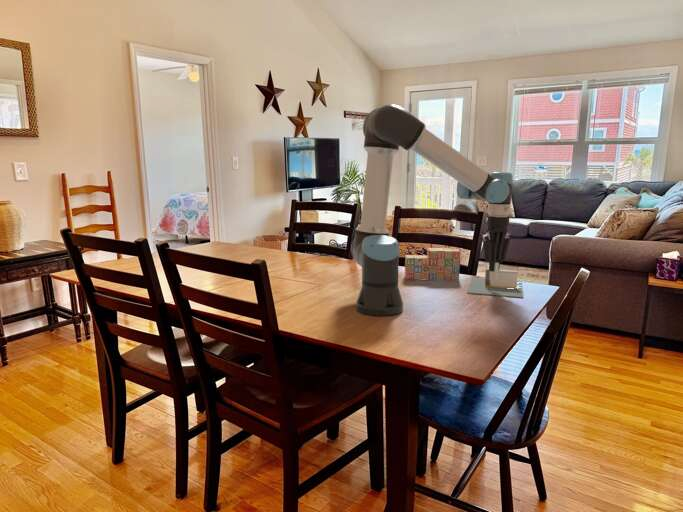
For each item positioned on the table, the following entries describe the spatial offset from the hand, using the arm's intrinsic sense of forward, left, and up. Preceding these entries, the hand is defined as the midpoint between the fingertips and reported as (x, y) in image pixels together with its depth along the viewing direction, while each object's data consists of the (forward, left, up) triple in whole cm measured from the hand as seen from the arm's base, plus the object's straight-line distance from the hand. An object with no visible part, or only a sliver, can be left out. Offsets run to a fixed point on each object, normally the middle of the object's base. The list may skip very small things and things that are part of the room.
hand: (493, 279), depth 175 cm
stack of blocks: (+12, +24, -5) cm, 28 cm away
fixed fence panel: (+12, +2, -4) cm, 12 cm away
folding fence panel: (+6, -3, -4) cm, 7 cm away
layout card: (+5, -1, -4) cm, 7 cm away
